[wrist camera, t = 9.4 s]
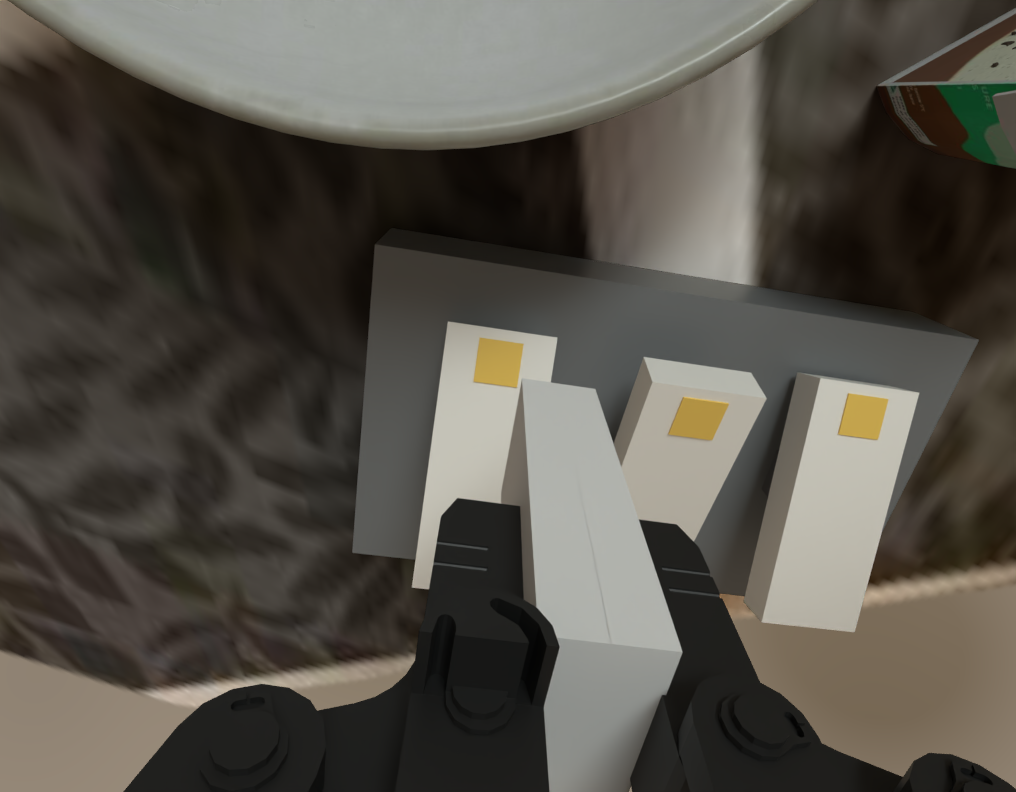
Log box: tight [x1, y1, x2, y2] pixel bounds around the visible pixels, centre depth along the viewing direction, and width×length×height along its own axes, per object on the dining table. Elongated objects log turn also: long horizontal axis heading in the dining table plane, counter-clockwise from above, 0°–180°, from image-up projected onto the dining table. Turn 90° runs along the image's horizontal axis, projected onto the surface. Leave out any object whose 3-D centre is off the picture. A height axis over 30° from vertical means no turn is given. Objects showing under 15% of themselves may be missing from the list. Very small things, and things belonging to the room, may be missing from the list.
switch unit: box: [352, 228, 979, 596], centre depth 27 cm, size 14×24×5 cm, turn 81°
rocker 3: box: [744, 372, 919, 632], centre depth 24 cm, size 10×4×2 cm, turn 171°
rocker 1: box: [412, 321, 557, 589], centre depth 23 cm, size 10×4×2 cm, turn 171°
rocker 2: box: [614, 357, 767, 541], centre depth 23 cm, size 10×4×2 cm, turn 171°
